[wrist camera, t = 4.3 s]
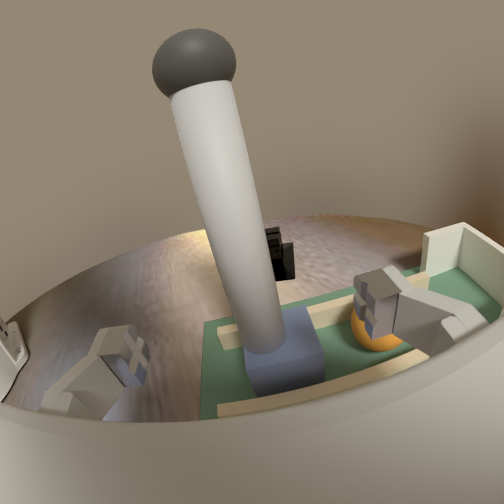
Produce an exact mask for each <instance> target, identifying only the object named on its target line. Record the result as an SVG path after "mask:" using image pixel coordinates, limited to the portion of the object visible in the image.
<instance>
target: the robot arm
mask: <svg viewBox="0 0 504 504" xmlns="http://www.w3.org/2000/svg"><path fill="white" fill-rule="evenodd" d="M354 287H355V289H356V290H357V291H356V293H355V294H354V296H353V298H354V307H355V311H356V314H357V316H358V318H359V320H361V321H363V322H365V326H364V328H365V330H366V332H367V333H368V335H369V337H370V338H371V340H374V339H378V338H381V337H384V336H387V335H390V334H393V335H394V336H396V337H398V338H399V339H401V340H403V341H404V342H406V343H408V344H410V345H411V346H413V347H415V348H416V349H418V350H420V351H421V352H423V353H425V354H427V355H428V356H430V357H429V359H427V360H425V361H423V362H421V363H418V364H416V365H414V366H412V367H409V368H407V369H405V370H403V371H400V372H398V373H395V374H393V375H390V376H388V377H385V378H383V379H380V380H378V381H375V382H372V383H369V384H367V385H364V386H361V387H358V388H355V389H352V390H349V391H346V392H343V393H340V394H336V395H333V396H329V397H326V398H322V399H319V400H315V401H311V402H307V403H303V404H299V405H295V406H291V407H286V408H282V409H277V410H272V411H267V412H261V413H255V414H249V415H243V416H236V417H228V418H220V419H211V420H200V421H185V422H160V423H136V422H112V421H101V420H102V419H103V418H104V416H105V415H106V413H107V412H108V411H109V409H110V408H111V407H112V405H113V404H114V403H115V401H116V400H117V399H118V397H119V396H120V395H121V393H122V392H123V391H124V389H125V387H134V386H144V381H145V377H146V373H147V372H146V371H145V369H144V368H145V367H146V366H147V365H148V364H149V359H150V354H149V348H148V346H147V344H146V342H145V340H143V339H142V338H140V337H138V336H139V331H138V329H137V328H136V326H135V325H132V324H130V325H122V326H114V327H107V328H101V329H100V330H99V331H98V333H97V335H96V337H95V339H94V341H93V343H92V345H91V348H90V350H89V352H88V354H87V357H83V358H82V359H81V360H80V361H79V362H77V363H76V364H75V365H74V366H73V367H72V368H71V369H70V370H69V371H67V372H66V373H65V374H64V375H63V376H62V377H61V378H60V379H59V380H57V381H56V382H55V383H54V384H53V385H52V386H51V387H50V388H49V389H48V390H47V392H46V394H45V397H44V399H43V401H42V404H41V406H40V409H39V411H38V412H37V411H32V410H28V409H23V408H19V407H15V406H12V405H8V404H4V403H1V401H2V400H3V398H4V397H5V396H6V394H7V393H8V391H9V389H10V388H11V386H12V384H13V382H14V380H15V377H16V375H17V373H18V372H19V370H20V369H21V368H22V366H23V365H24V364H25V362H26V361H27V359H28V357H29V355H28V352H27V349H26V346H25V343H24V340H23V337H22V334H21V331H20V328H19V325H18V324H17V322H15V321H14V322H11V323H9V324H7V325H6V324H5V323H4V322H3V320H2V319H1V317H0V504H504V315H503V316H501V317H500V318H499V319H497V320H496V321H494V322H493V323H491V324H489V323H488V322H487V321H486V319H485V318H484V317H483V316H482V315H481V314H480V313H479V312H478V311H477V310H476V309H475V308H474V307H473V306H472V305H471V304H468V303H465V302H463V301H460V300H457V299H454V298H451V297H448V296H445V295H442V294H439V293H436V292H433V291H430V290H427V289H424V288H421V287H416V288H415V287H414V286H413V285H412V284H411V283H410V282H409V281H408V280H407V279H406V278H405V277H404V276H403V275H402V274H401V273H400V272H399V271H398V270H397V269H396V268H395V267H394V266H393V265H388V266H385V267H382V268H379V269H377V270H374V271H371V272H367V273H364V274H360V275H357V276H355V277H354Z"/></svg>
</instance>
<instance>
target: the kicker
mask: <svg viewBox="0 0 504 504" xmlns="http://www.w3.org/2000/svg"><path fill="white" fill-rule="evenodd" d="M235 70H236V58H235V53H234V50H233V48H232V47H231V45H230V44H229V42H228V41H226V39H225V38H224V37H222V36H221V35H219V34H217V33H215V32H213V31H210V30H206V29H189V30H184V31H181V32H178V33H176V34H175V35H173V36H171V37H170V38H169V39H167V40H166V41H165V42H164V43H163V44H162V45H161V46H160V48H159V49H158V51H157V53H156V54H155V57H154V60H153V65H152V73H153V78H154V81H155V83H156V85H157V87H158V88H159V90H160V91H161V92H162V93H163V94H164V95H166V96H167V97H168V98H169V100H170V104H171V108H172V112H173V116H174V120H175V124H176V127H177V131H178V135H179V139H180V143H181V146H182V150H183V154H184V157H185V161H186V165H187V168H188V172H189V175H190V179H191V182H192V186H193V189H194V193H195V196H196V200H197V203H198V207H199V210H200V213H201V216H202V220H203V223H204V227H205V230H206V233H207V236H208V240H209V243H210V246H211V249H212V252H213V256H214V259H215V262H216V265H217V268H218V271H219V274H220V277H221V280H222V283H223V286H224V289H225V292H226V295H227V298H228V301H229V304H230V307H231V310H232V313H233V316H234V319H235V322H236V325H237V328H238V330H239V333H240V336H241V339H242V342H243V346H244V357H245V367H246V372H247V374H248V377H249V379H250V382H251V384H252V387H253V389H254V392H255V394H256V396H257V397H262V396H267V395H272V394H277V393H282V392H286V391H290V390H295V389H299V388H303V387H307V386H310V385H314V384H318V383H321V382H325V366H324V351H323V348H322V346H321V343H320V341H319V338H318V336H317V333H316V330H315V328H314V325H313V323H312V320H311V318H310V315H309V313H308V310H307V308H306V305H302V306H298V307H294V308H290V309H286V310H282V311H281V307H280V302H279V297H278V292H277V287H276V282H275V277H274V272H273V268H272V263H271V258H270V253H269V248H268V244H267V239H266V234H265V230H264V225H263V220H262V216H261V211H260V207H259V202H258V198H257V193H256V188H255V184H254V180H253V175H252V171H251V166H250V162H249V158H248V153H247V149H246V144H245V140H244V136H243V131H242V127H241V123H240V119H239V115H238V110H237V106H236V102H235V98H234V93H233V89H232V85H231V81H232V79H233V76H234V73H235Z"/></svg>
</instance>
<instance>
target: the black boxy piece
mask: <svg viewBox="0 0 504 504" xmlns="http://www.w3.org/2000/svg"><path fill="white" fill-rule="evenodd" d="M264 230H265V234H266V239H267V244H268V248H269V253H270V258H271V263H272V268H273V272H274V277H275V281H283V280H291V279H295V266H294V251H293V243H292V242H291V243H284V244H283V243H282V238H281V233H280V228H279V227H274V228H267V229H264Z"/></svg>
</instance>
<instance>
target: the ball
mask: <svg viewBox="0 0 504 504" xmlns="http://www.w3.org/2000/svg"><path fill="white" fill-rule="evenodd" d="M364 326H365V322H363V321H361V320H359V318H358V316H357V314H356V311H355V307H354V309H353V312H352V316H351V327H352V331H353V334H354V336H355V338H356V339H357V341H358V342H359V343H360V344H361V345H362V346H363V347H365V348H367V349H369V350H371V351H376V352H385V351H389V350H392V349H394V348H396V347H398V346H399V345H400V344H401V343H402V342H403V340H401V339H399V338H398V337H396V336H394V335H393V334H390V335H387V336H384V337H381V338H378V339H374V340H371V338H370V337H369V335H368V333H367V332H366V330H365V328H364Z"/></svg>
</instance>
